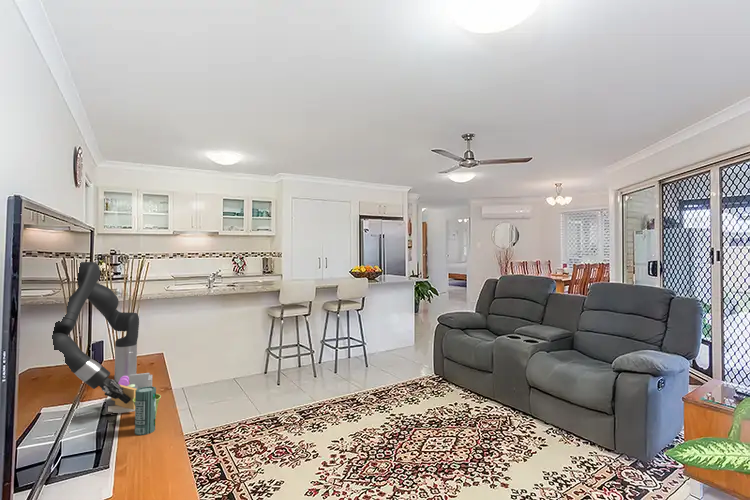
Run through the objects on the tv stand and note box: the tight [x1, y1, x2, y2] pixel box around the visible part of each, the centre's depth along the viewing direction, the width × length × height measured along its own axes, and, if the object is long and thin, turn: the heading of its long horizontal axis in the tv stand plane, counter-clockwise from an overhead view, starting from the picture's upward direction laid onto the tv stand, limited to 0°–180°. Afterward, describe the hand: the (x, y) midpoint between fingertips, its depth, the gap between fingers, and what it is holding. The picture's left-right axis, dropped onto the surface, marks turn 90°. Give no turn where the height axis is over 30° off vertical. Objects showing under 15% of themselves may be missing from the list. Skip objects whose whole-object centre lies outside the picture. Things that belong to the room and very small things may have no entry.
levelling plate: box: [106, 372, 153, 414], centre depth 170 cm, size 21×18×10 cm
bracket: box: [118, 376, 130, 386], centre depth 184 cm, size 13×6×7 cm, turn 117°
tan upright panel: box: [105, 384, 136, 410], centre depth 162 cm, size 16×5×8 cm, turn 65°
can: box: [134, 385, 157, 436], centre depth 144 cm, size 6×6×15 cm
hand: (128, 401), depth 158 cm, fingers closed
